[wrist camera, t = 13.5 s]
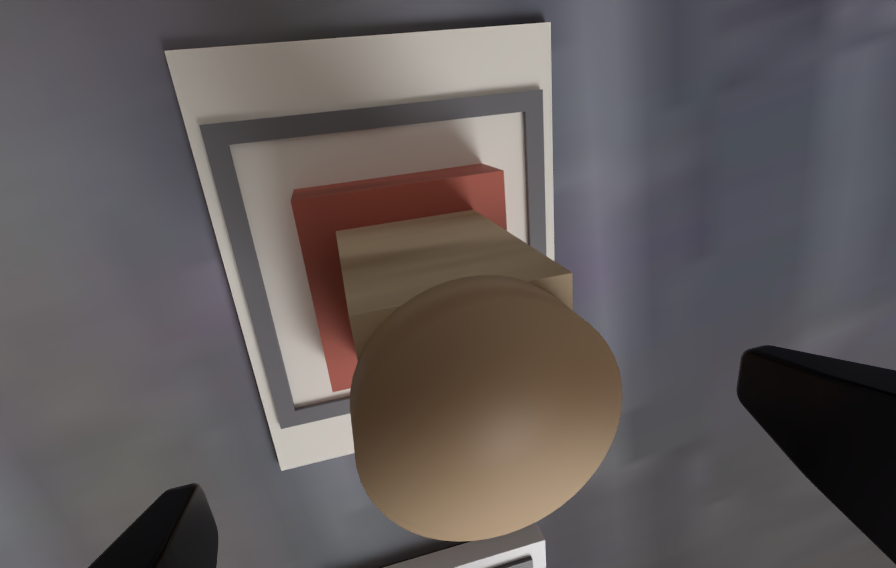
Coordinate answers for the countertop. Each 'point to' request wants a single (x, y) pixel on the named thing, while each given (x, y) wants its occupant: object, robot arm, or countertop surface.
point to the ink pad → (488, 553)
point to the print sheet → (350, 172)
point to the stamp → (454, 352)
